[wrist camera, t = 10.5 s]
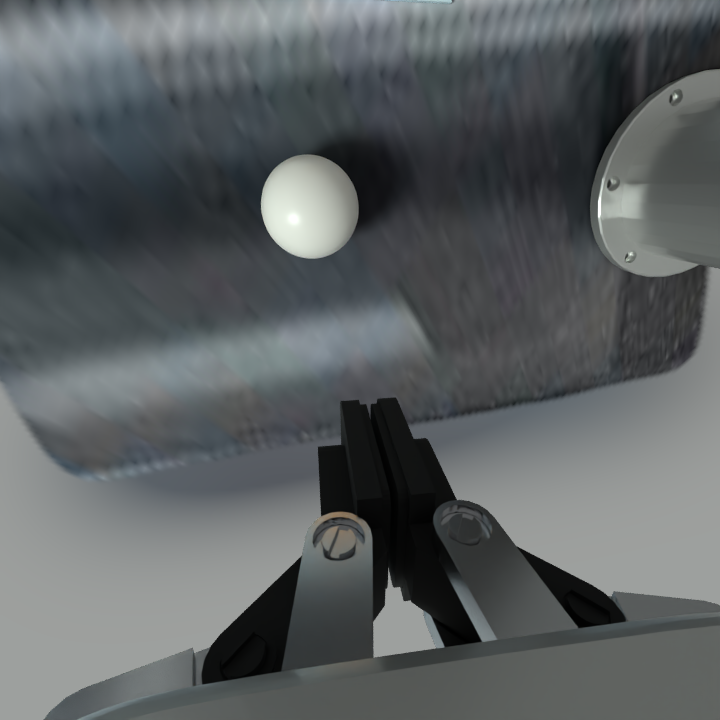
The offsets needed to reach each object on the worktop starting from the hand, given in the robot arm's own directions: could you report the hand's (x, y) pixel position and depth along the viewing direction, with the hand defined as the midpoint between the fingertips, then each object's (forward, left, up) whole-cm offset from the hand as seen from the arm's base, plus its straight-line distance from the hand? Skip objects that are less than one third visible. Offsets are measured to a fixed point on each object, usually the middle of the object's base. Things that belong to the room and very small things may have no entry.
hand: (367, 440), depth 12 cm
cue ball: (+1, -6, -14) cm, 16 cm away
